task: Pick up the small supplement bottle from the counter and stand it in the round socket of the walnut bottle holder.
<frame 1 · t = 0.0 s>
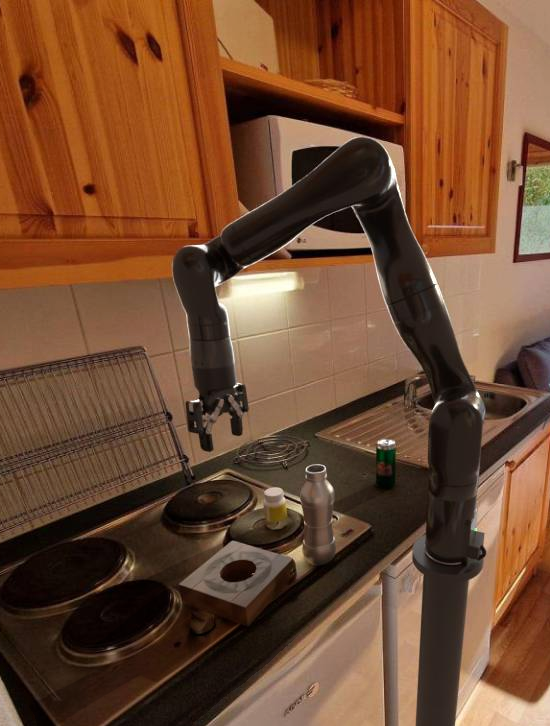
hand: (223, 442, 94), 22 cm above the worktop, tool pointing down, fingers open, 8 cm apart
bottle holder: (240, 588, 87), on the worktop
soda can: (385, 485, 124), on the worktop
supplement bottle: (276, 525, 106), on the worktop
silver metal bottle: (319, 560, 95), on the worktop
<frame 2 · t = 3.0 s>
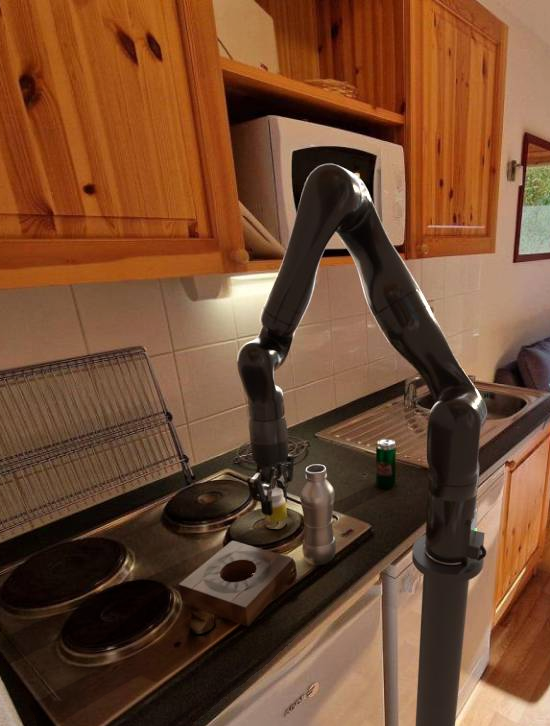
hand: (275, 507, 104), 4 cm above the worktop, tool pointing down, fingers closed on supplement bottle, 4 cm apart
supplement bottle: (276, 525, 106), on the worktop, touching gripper
everything else where it was.
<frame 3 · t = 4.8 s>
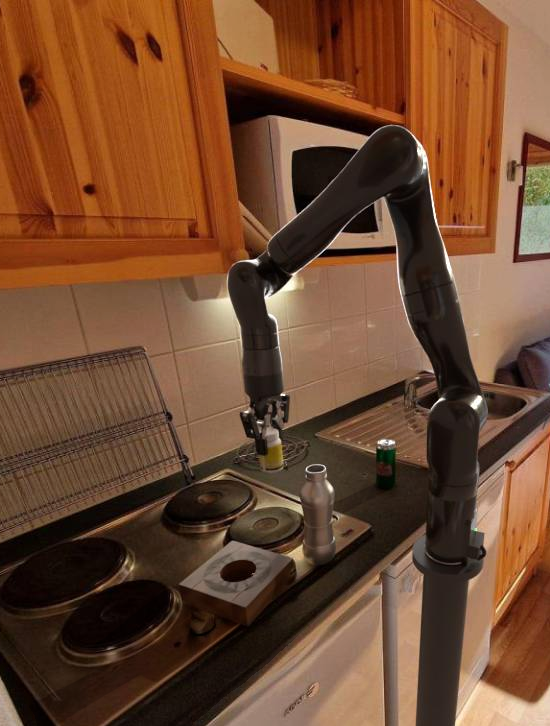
hand: (270, 449, 99), 18 cm above the worktop, tool pointing down, fingers closed on supplement bottle, 4 cm apart
supplement bottle: (272, 469, 101), point 14 cm above the worktop, touching gripper
everything else where it was.
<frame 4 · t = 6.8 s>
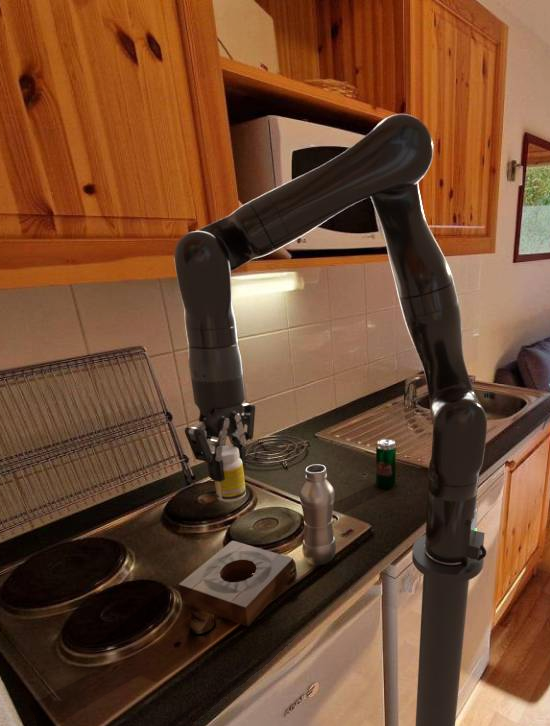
hand: (229, 472, 79), 23 cm above the worktop, tool pointing down, fingers closed on supplement bottle, 4 cm apart
supplement bottle: (231, 496, 81), point 18 cm above the worktop, touching gripper
everything else where it was.
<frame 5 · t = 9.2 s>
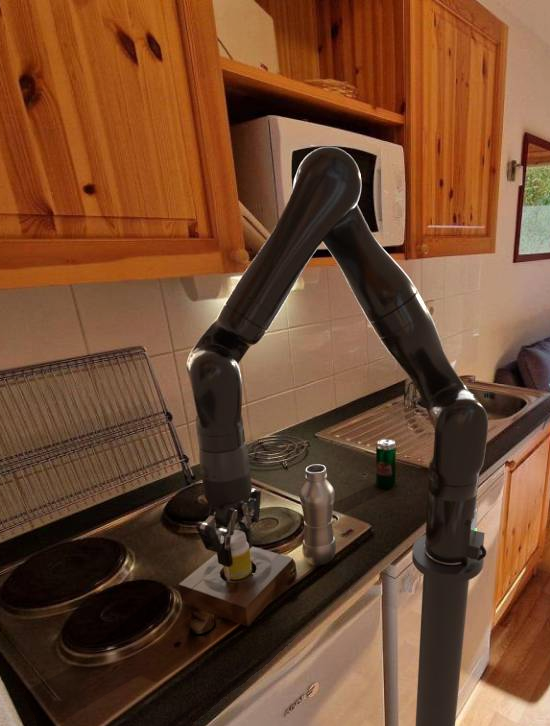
hand: (236, 555, 84), 7 cm above the worktop, tool pointing down, fingers closed on supplement bottle, 4 cm apart
supplement bottle: (238, 576, 86), point 3 cm above the worktop, touching gripper
everything else where it was.
when the fingers open (4 cm above the worktop, at t = 10.6 s): supplement bottle stays where it is, resting in bottle holder.
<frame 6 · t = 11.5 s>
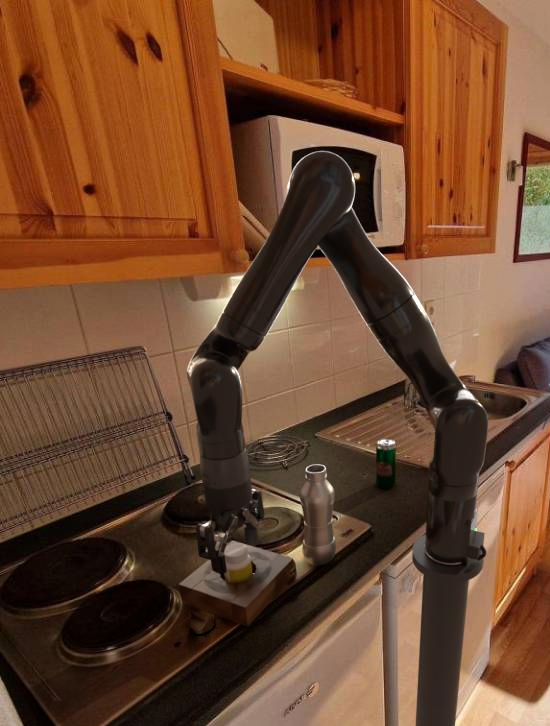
hand: (237, 557, 84), 7 cm above the worktop, tool pointing down, fingers open, 8 cm apart
supplement bottle: (240, 589, 87), resting in bottle holder
everything else where it was.
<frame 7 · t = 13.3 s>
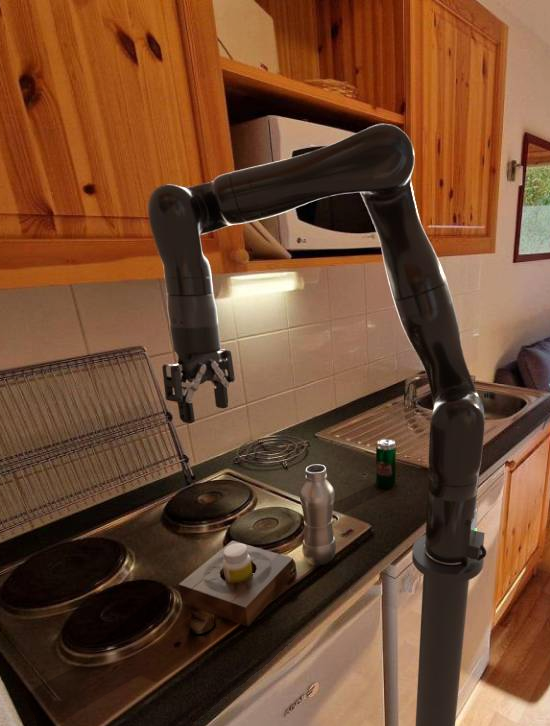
hand: (206, 414, 85), 30 cm above the worktop, tool pointing down, fingers open, 8 cm apart
nothing on the worktop moved.
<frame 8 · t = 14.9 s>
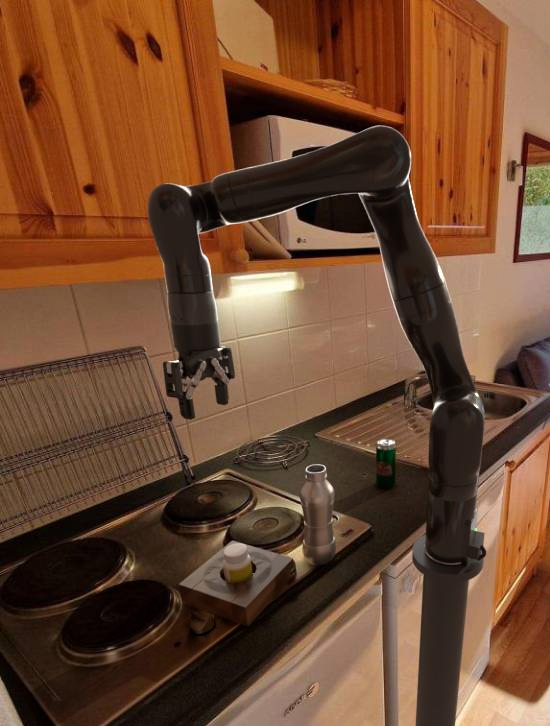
hand: (206, 411, 86), 30 cm above the worktop, tool pointing down, fingers open, 8 cm apart
nothing on the worktop moved.
at the end: supplement bottle 0.1 cm off-centre in the bottle holder, point 0.0 cm above the bottle holder's base; supplement bottle tilted 0° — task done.
